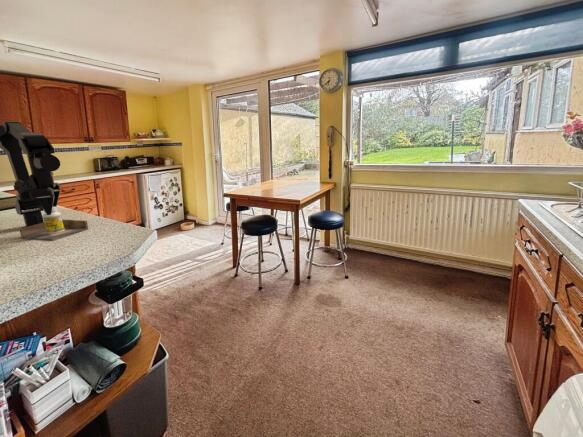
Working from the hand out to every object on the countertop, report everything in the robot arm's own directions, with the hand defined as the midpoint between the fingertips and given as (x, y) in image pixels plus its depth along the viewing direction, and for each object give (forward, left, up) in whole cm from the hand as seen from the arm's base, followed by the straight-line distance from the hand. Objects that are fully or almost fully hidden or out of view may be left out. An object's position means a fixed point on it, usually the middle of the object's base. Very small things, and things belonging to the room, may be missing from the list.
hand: (51, 212), depth 115 cm
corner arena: (-1, +1, -8) cm, 9 cm away
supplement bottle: (0, 0, -8) cm, 8 cm away
